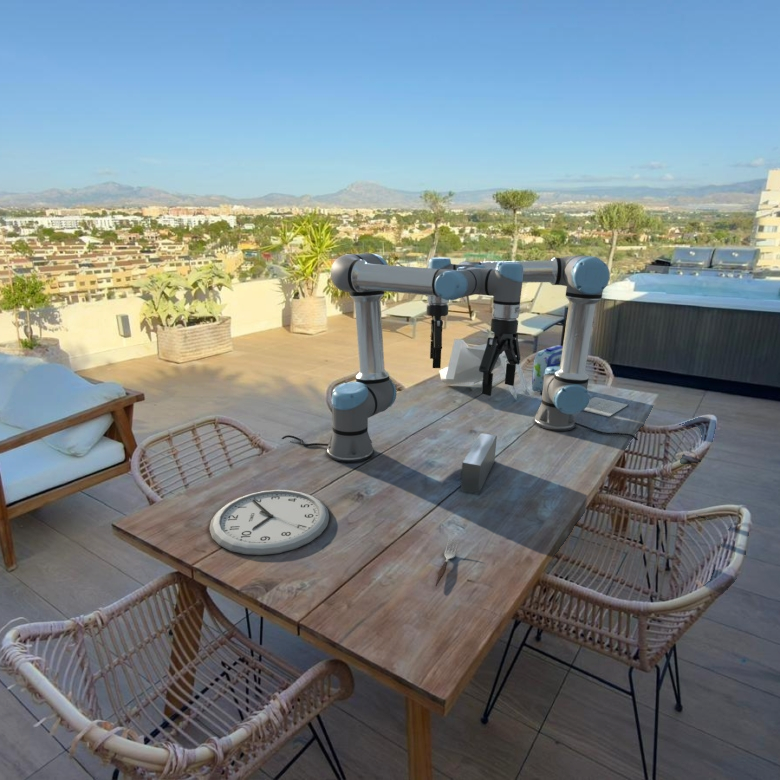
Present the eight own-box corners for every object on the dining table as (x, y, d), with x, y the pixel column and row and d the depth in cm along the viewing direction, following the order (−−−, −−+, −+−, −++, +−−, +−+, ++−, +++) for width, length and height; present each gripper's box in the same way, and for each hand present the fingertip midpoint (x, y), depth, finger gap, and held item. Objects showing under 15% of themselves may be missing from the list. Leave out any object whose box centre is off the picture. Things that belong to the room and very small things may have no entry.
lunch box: (548, 398, 236) (553, 353, 229) (527, 393, 243) (531, 349, 237) (575, 387, 253) (581, 344, 247) (555, 382, 260) (560, 341, 254)
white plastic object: (461, 429, 252) (437, 405, 227) (444, 352, 274) (420, 323, 250) (535, 404, 240) (518, 377, 215) (510, 326, 262) (492, 293, 237)
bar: (478, 458, 173) (480, 433, 171) (494, 461, 172) (496, 435, 169) (460, 490, 152) (462, 462, 149) (478, 494, 150) (480, 465, 147)
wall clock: (327, 546, 121) (194, 551, 119) (327, 552, 122) (195, 557, 119) (330, 485, 150) (223, 488, 147) (330, 490, 150) (224, 493, 148)
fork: (429, 586, 111) (429, 578, 110) (447, 545, 125) (448, 538, 125) (441, 589, 110) (441, 581, 109) (458, 548, 124) (459, 541, 124)
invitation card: (608, 416, 214) (573, 407, 224) (608, 416, 214) (573, 408, 224) (628, 404, 229) (594, 396, 238) (628, 405, 229) (594, 397, 238)
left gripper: (494, 325, 137) (487, 402, 144) (536, 315, 155) (528, 383, 162) (470, 321, 142) (464, 395, 148) (513, 312, 160) (507, 378, 166)
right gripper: (424, 298, 193) (422, 354, 199) (429, 308, 169) (426, 372, 175) (445, 299, 193) (442, 355, 199) (452, 309, 169) (448, 372, 175)
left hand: (498, 389), depth 155 cm, fingers open, 13 cm apart
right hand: (435, 363), depth 187 cm, fingers open, 13 cm apart
